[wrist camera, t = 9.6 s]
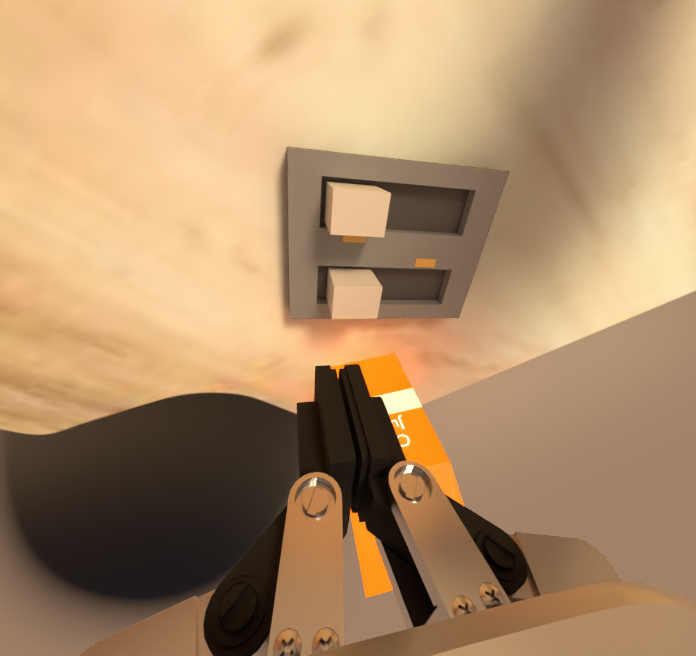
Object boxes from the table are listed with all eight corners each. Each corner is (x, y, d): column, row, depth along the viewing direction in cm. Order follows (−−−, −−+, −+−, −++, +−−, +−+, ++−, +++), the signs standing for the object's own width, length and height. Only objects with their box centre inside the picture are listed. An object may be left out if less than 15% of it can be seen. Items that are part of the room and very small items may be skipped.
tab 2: (370, 268, 27) (382, 287, 23) (366, 297, 28) (377, 318, 25) (328, 267, 26) (334, 286, 22) (326, 296, 28) (331, 319, 24)
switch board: (494, 169, 25) (510, 171, 23) (450, 308, 33) (459, 318, 31) (287, 146, 22) (287, 146, 20) (289, 308, 29) (289, 319, 27)
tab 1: (375, 185, 23) (391, 193, 19) (370, 224, 25) (384, 237, 21) (326, 181, 22) (333, 188, 19) (324, 221, 24) (330, 234, 20)
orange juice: (396, 396, 39) (477, 582, 22) (333, 410, 38) (368, 613, 22) (395, 352, 35) (493, 542, 18) (323, 367, 34) (357, 579, 17)
